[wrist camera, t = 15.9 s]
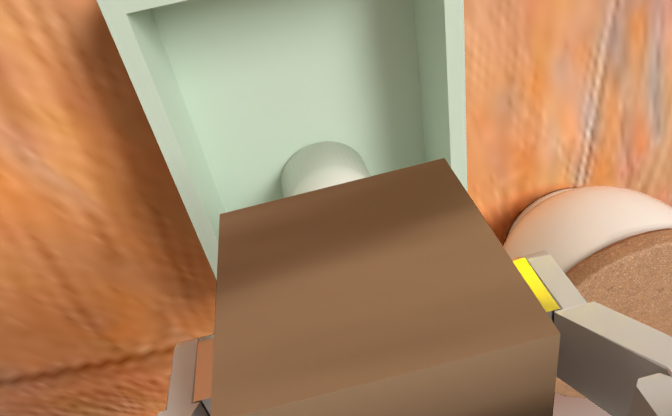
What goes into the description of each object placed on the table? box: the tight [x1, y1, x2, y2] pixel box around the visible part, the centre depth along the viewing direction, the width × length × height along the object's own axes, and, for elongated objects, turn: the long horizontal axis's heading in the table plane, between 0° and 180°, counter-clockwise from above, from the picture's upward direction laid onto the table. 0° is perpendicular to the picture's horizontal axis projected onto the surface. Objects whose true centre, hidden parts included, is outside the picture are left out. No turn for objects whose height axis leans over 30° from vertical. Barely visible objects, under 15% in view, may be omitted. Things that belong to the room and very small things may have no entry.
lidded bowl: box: [503, 186, 672, 398], centre depth 32 cm, size 13×13×11 cm
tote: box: [97, 0, 467, 280], centre depth 26 cm, size 14×18×5 cm
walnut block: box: [210, 158, 560, 416], centre depth 11 cm, size 5×5×5 cm
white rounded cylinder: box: [281, 141, 371, 198], centre depth 27 cm, size 5×5×7 cm
